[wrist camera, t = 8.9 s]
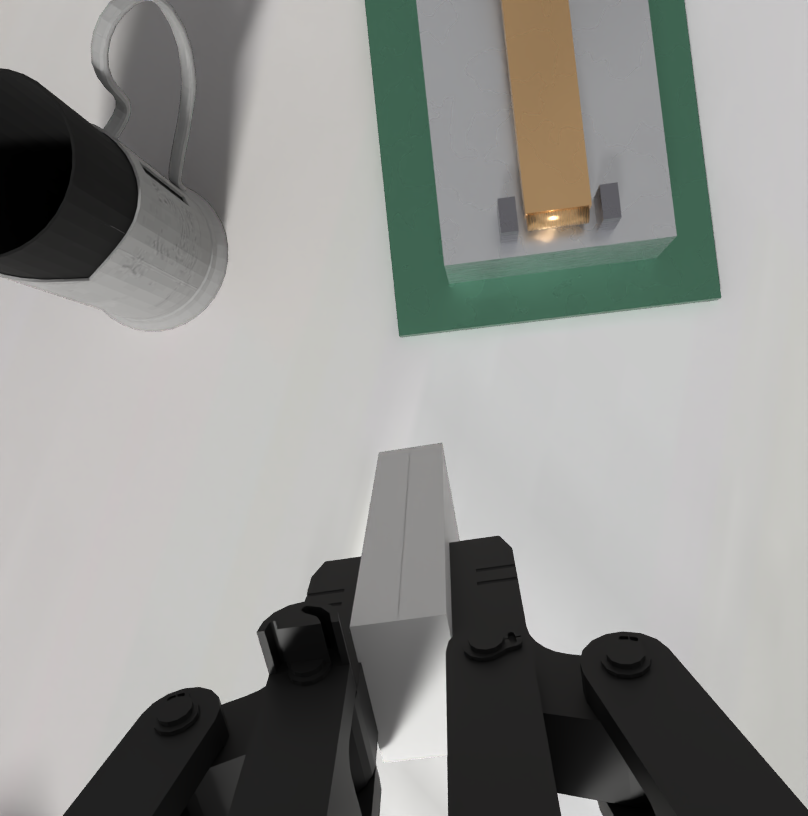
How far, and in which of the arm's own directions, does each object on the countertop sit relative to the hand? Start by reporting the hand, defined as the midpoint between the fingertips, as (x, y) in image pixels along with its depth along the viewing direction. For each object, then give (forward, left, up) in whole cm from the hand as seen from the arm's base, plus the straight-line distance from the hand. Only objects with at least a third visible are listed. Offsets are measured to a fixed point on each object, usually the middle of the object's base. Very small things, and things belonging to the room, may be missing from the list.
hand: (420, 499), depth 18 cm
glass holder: (-21, -5, -24) cm, 32 cm away
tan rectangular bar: (-12, +14, -18) cm, 26 cm away
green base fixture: (-13, +14, -24) cm, 31 cm away
